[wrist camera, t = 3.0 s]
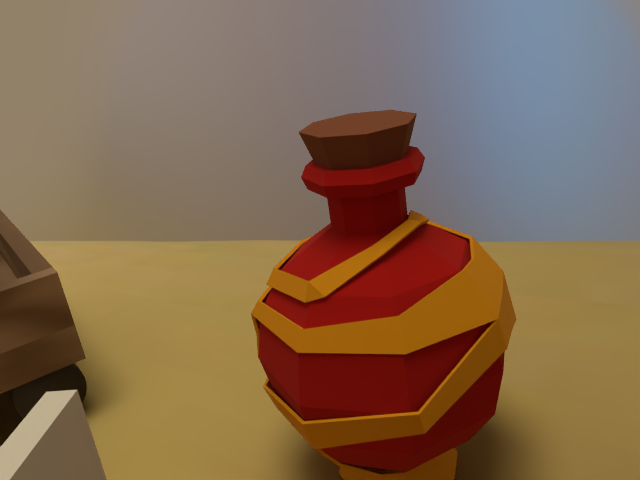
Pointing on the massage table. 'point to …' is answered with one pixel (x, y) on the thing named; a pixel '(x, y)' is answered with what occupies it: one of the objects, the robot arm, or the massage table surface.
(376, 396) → the potion bottle
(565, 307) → the massage table surface
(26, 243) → the dolly
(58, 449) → the robot arm
